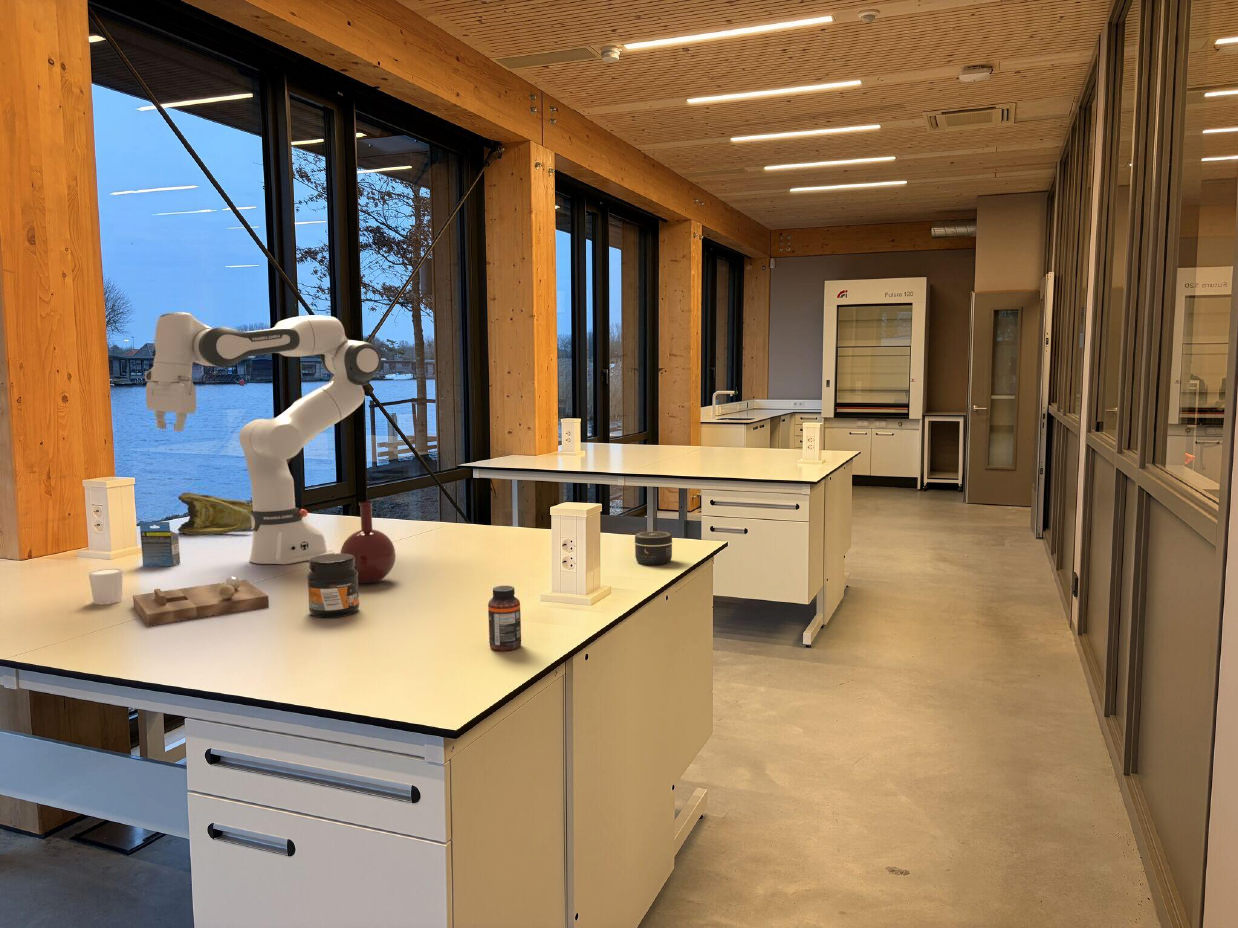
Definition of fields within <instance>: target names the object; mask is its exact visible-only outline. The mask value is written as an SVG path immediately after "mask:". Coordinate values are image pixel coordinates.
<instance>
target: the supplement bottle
mask: <svg viewBox="0 0 1238 928" xmlns="http://www.w3.org/2000/svg"><path fill="white" fill-rule="evenodd" d="M515 594H516V592H515V587H514V586H512V585H497V586H495V587H493V588H492V597H491V599H489V601H488V603H487V609H488V616H487V617H488V638H489V639H488V640H489V641H488V643H489V647H490V648H491V649H492V650H494V651H499V652H506V651H507V652H509V651H514V650H516V649H519V648H520V647H521V645H522V624H521V623H522V622H521V621H522V620H521V618H522V617H521V601H520V599H519V598H518V597H515Z"/></svg>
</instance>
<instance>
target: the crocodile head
mask: <svg viewBox="0 0 1238 928" xmlns="http://www.w3.org/2000/svg"><path fill="white" fill-rule="evenodd" d="M178 500H179V501H181V503H183V504H185V505H187V513H188V516H189V518H188V520H187V521H185V522H184V523H181V524H180V526H179V527H178V528H177V531H178V532H179V533H180V532H182V533H181V534H183V533H186V534H185V535H189V534H215V535H223V534H229V533H232V532H236V531H248V530H251V529H252V526H251V511H252V510H253V505H252V501H251V502H250V501H247V500H235V499H234V500H233V499H230V498H224V497H223V498H222V497H217V496H215V495H214V496H213V495H207V494H198V493H193V492H183V493H181V494H180V495H178Z"/></svg>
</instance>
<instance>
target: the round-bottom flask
mask: <svg viewBox="0 0 1238 928" xmlns="http://www.w3.org/2000/svg"><path fill="white" fill-rule="evenodd" d="M358 503H359V506H360V507H359V508H360V527H361V528H360V529H361V530H358V531H355V532H353V533H352V534H351V535H349V536H348V537H347V539H345V541H344V542H343V544H342V545H341V549H340V553H339V554H351V555H353V556H355V566H354V567H355V568H356V569H357V571H358V583H360V584H373V583H376V582H379V581H381V580H383V579H384V578H386V577H387V576H388V575H389V574H390V573H391V571H392V570H393V568H394V565H395V564H396V563H395V562H396V556H397V555H396V548H395V545H394V543H393V542H392V540H391V538H390V537H389V536H388V535H386V534H385V533H383V532H382V531H379V530H376V529H373V513H372V512H373V511H372V505H373V501H366V500H365V501H360V502H358Z"/></svg>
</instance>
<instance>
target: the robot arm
mask: <svg viewBox="0 0 1238 928" xmlns="http://www.w3.org/2000/svg"><path fill="white" fill-rule="evenodd" d="M343 325H344V324H342V322H341V321H340V320H339V319H338V318H336V317H335V316H331V315H302V316H295V317H294V316H293V317H289V318H286V319H285V318H284V319H283V320H280V321H277V322H276V324H275V325H274V327H272V328H268V329H259V330H253V331H252V330H251V331H239V330H236V329H234V328H232V327H227V326H217V327H214V328H212V327H210V326H208V325H206V324H205V323H203V322H201V321H199V320H198V319H197V318H196V317H194V316H193V315H192V314H191V313H190V312H184V311H181V312H180V311H177V312H167V313H163V314H162V315H160V316H159V317H158V319H157V321H156V326H155V332H154V333H155V334H154V341H153V343H154V350H155V356H154V359H153V366H152V367H151V369H149V370H148V371H146V372H145V373H144V374H145V375H144V379H145V381H146V382H147V383H146V385H145V405H146V408H147V410H148V411H154V418H155V421H156V429H158V430H166V428H167V422H166V418H165V416H166V412H167V413H175V418H176V420H175V423H174V424H173V431H175V432H183V431H184V428H185V427H184V425H185V423H186V421H187V418H188V414H190V415H192V414H193V415H194V414H195V412H196V411H197V390H196V385H195V384H194V383H193V381H192V375H193V363H196V364H199V365H202V366H206V367H219V368H230V367H234V366H235V365H237V364H238V363H240V362H241V361H243V360H245V359H247V358H249V357H255V356H259V355H267V354H274V353H275V354H280V355H282V356H284V357H291V358H293V357H295V358H297V357H298V358H301V357H307V356H316V355H318V356H319V358H320V362H321V365H322V367H323V369H324V370H325V371H326V372H327V373H328V374H330V375H332V378H331V379H330V380H329V381H328V382H327V383H325V384H323V385H322V386H320V387H317V388H316V389H314V390H313V391H311V392H309V393H307V394H306V395H303V397H300V398H298V399H297V400H295V401H294V402H293V403H292V404H291V406H290V407H288V408H287V409H286V410H285V411H283V412H282V413H281V414H279V415H278V416H276V417H273V418H270V419H267V418H258V419H254V420H251V421H250V422H248V423H246V424H245V425H244V426H243V427H242V428H241V430H240V431H239V435H238V440H239V441H238V442H239V444H240V446H241V448H242V450H243V454H244V459H245V463H246V467H247V470H248V474H249V480H250V485H251V489H250V490H251V503H252V505H253V510H252V511H251V526H252V532H253V533H252V544H251V551H250V552H251V553H250V556H249V560H248V561H249V562H250V563H254V564H260V565H261V564H263V565H269V564H270V565H272V564H273V565H275V564H277V565H290V564H295V563H300V562H307V561H309V559H310V558H312V557H315V556H320V555H326V554H336V553H335V550H334V548H331V547H330V546H329V547H328V546H327V543H326V540H325V536H324V534H323V533H322V531H320V530H319V529H317V528H316V527H315V526H313V525H311V524H310V523H309V522H307V521H305V520H304V519H303V518H305V517H308V515H309V512H308V511H307V510H306V509H304V508H299V507H296V501H295V500H296V497H295V496H296V495H295V486H294V485H295V481H294V478H293V476H292V474H291V471H290V469H289V465H288V461H287V460H289V459H292V458H294V457H295V456H297V455H298V454H299V453H300V452H301V450H302V448H304V447H305V446H306V445H307V444H309V442H311V441H312V440H313V439H314V438H315V437H316V436H318V435H320V434H321V433H322V432H325V431H326V430H328V428H330V427H333V426H334V425H335V424H337V423H339V422H340V421H342V420H344V419H345V418H346V417H348V416H350V415H351V414H352V413H353V412H355V411H356V409H358V408H359V407H360V406H361V405H362V404H363V403H364V401H365V390H364V388H363V386H366V385H368V384H370V382H371V380H372V379H373V377H374V376H375V375H376V374H377V373H378V371H379V370H380V367H381V365H382V364H381V363H382V356H381V353H380V351H379V350H378V348H377V347H376V346H375V345H374V344H372V343H370V342H367V341H363V340H362V341H361V340H355V339H354V340H353V339H349V338H347V336H346V334H345V327H344V326H343Z"/></svg>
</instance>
